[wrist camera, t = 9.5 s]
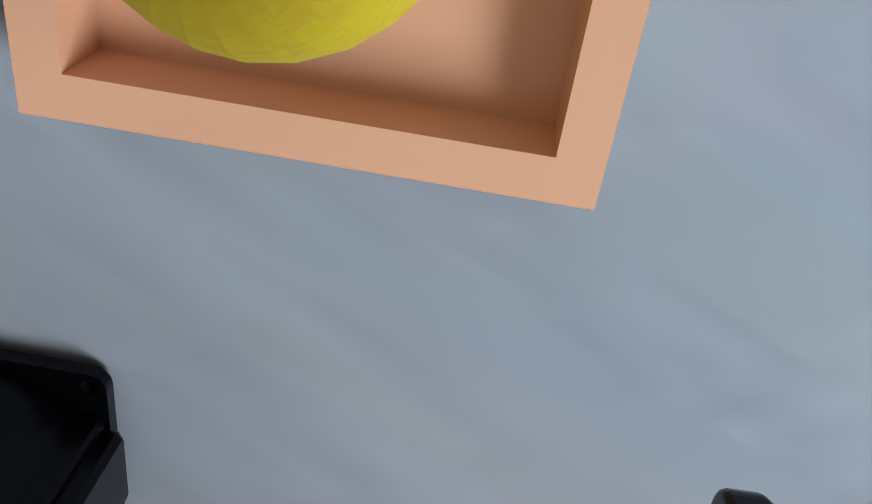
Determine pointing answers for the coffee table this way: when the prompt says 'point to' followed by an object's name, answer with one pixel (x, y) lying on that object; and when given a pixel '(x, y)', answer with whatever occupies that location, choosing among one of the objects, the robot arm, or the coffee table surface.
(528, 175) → the dish
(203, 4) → the lemon
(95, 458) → the robot arm
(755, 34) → the coffee table surface
